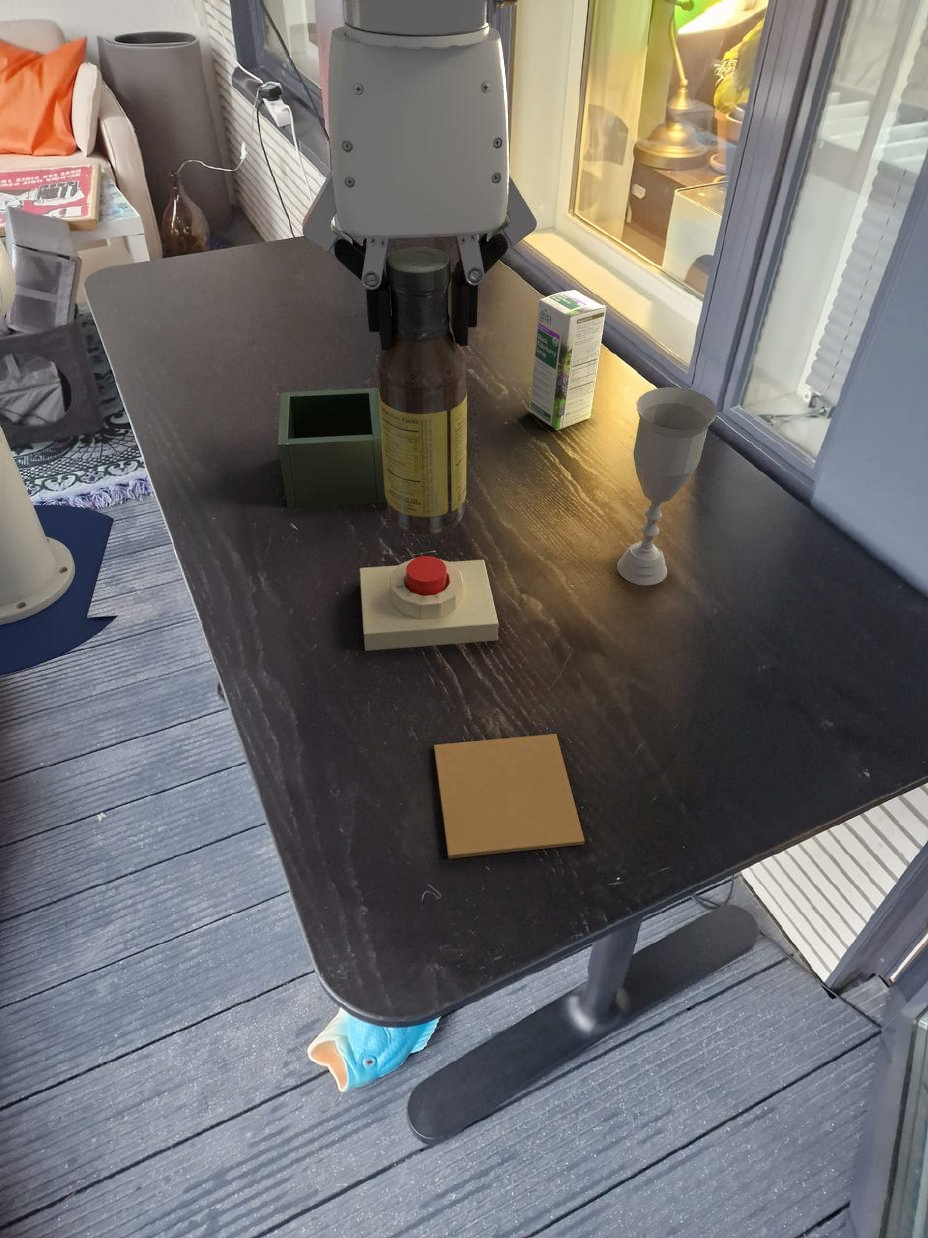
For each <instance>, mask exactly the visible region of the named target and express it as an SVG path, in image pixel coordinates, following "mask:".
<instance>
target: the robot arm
mask: <svg viewBox="0 0 928 1238" xmlns="http://www.w3.org/2000/svg"><path fill="white" fill-rule="evenodd" d="M517 4H518V0H343V11H344V14H343V15H344V26H339V27H336V28H334V29H332V30H331V35H330V44H329V53H328V70H327V71H328V72H327V73H328V74H327V113H328V115H327V116H328V142H329V143H328V144H329V145H328V146H329V163H330V165H329V166H330V167H329V168H330V171H329V173H328V175H327V176H326V178H325V180H324V182H323V183H322V186H321V187H320V189H319V191H318V193H317V195H315V198H314V200H313V202H312V203H311V205H310V207H309V208H308V210H307V212H306V214H305V216H304V218H303V220H302V222H301V227H302V229H301V230H302V235H303V237H304V238H305V239H306V240H307V241H309V242H311V243H312V244H314V245H315V246H317V247H319V248H320V249H322V250H323V251H324V252H326V253H330V254H331V255H332V256H334V257H335V258H336V259H337V261H339V262H340V263H341V264H342V265H343V266H344V267H345V268H346V269H347V270H349V271H350V272H351V273H352V275H354V276H355V277H357V278H358V279H359V281H361V283H362V285H363V287H364V288H365V299H366V311H367V312H366V314H367V315H366V316H367V327H368V333H378V337H379V343H380V350H381V349H382V350H390V348H392V322H391V316H392V311H391V296H390V287H389V284H388V282H387V277H386V270H385V264H386V257H387V250H388V245H389V239H391V240H392V239H418V238H420V239H421V238H446V237H447V238H448V237H454V241H455V242H454V243H455V247H456V252H457V257H458V261H457V262H456V263H455V267H453V271H451V280H450V328H451V332H452V335H453V336H454V338H455V341H456V344H459V346H460V347H468V345H469V329H470V328H477V327H478V301H479V285H480V284H482V282H483V281H484V279H485V274H487V273H488V272H489V271H490V269H491V268H493V267H494V265H496V263H497V262H499V260H500V259H501V258H502V257H503V256H504V255H505V254H506V253H507V251H508V250H509V249H510V248H511V247H512V246H515V245H516V244H518V243H519V242H521V241H522V240H523V239H525V238H526V237H527V236H529V235H530V234H531V233H533V232H534V231H535V230H536V229H537V226H538V221H537V218H536V217H535V215H534V213H533V212H532V210H531V208H530V207H529V205H528V203H527V201H526V200H525V198H524V197H523V195H522V193H521V192H520V190H519V188H518V186H517V185H516V183H515V182H514V180H513V178H512V176H511V175H510V173H509V168H510V166H509V165H510V163H509V161H510V160H509V123H508V122H509V121H508V97H507V82H506V73H505V72H506V71H505V64H504V63H505V61H504V52H503V46H502V45H503V44H502V39H501V38H502V37H501V34H500V32H499V30H497V29H495V28H494V27H490V25H492V24H493V15H496V13H497V12H496V11H497V9H503V7H504V6H516V5H517ZM335 216H336V217H337V222H338V225H339V227H340V229H341V230H340V229H339V228H338V227H337V226H335V225H334V224H333V222H332V221H333V219H334V217H335ZM480 235H481V237H480V238H478V236H480ZM354 237H355V238H359V239H362V240H361V244H360V243H359V242H358V241H356V239H355V238H354ZM16 295H17V281H16V274H15V269H14V267H13V264H12V261H11V258H10V256H9V253H8V251H7V249H6V246H5V245H4V242H3V240H2V238H1V237H0V320H1V319H3V318H4V317H5V316H6V314H8V312H9V311H10V310H11V308H12V306H13V304H14V302H15V299H16ZM25 484H26V483H25V482H24V479H23V477H22V474H21V472H20V469H19V466H18V465H17V462H16V459H15V457H14V454H13V452H12V449H11V447H10V445H9V442H8V439H7V438H6V435H5V433H4V430H3V428H2V426H1V425H0V625H2V624H8V623H12V622H15V621H18V620H22V619H25V618H27V617H29V616H32V615H34V614H36V613H38V612H40V611H42V610H43V609H45V608H47V607H48V606H50V605H51V604H52V603H54V602H55V601H56V600H58V599H59V598H60V597H61V596H62V595H63V594H64V593H65V592H66V590H67V589H68V587H69V586H70V584H71V583H72V580H73V578H74V575H75V564H74V560H73V558H72V555H71V553H70V551H69V550H68V549H67V548H66V546H65V545H63V544H62V543H60V542H59V541H57V540H55V539H52V538H50V537H46V536H45V533H44V531H43V529H42V526H41V524H40V521H39V519H38V516H37V514H36V511H35V509H34V506H33V505H34V504H33V501H32V499H31V497H30V496H31V495H30V494H29V492H28V489H27V487H26V485H25Z"/></svg>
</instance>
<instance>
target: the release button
mask: <svg viewBox="0 0 928 1238" xmlns="http://www.w3.org/2000/svg"><path fill="white" fill-rule="evenodd" d="M414 558H415V559H413V558H412V559H413V560H412V561H410V562H409V564H408V565H407V568H406V573H407V586H408V588H409V590H410V591H411V592H413V593H415V594H418V595H422V596H428V595H436V594H438V593H440V592H442V591H443V590H444V589H445V587H446V565H445V564H444V562H443V561H441V560H442V559H441V558H438V557H435V556H430V555H423V556H417V557H414ZM440 559H441V560H440Z"/></svg>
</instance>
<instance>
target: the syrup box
mask: <svg viewBox="0 0 928 1238" xmlns="http://www.w3.org/2000/svg"><path fill="white" fill-rule="evenodd" d="M606 311H607V305H605V304H600V303H598V302H596V301H595V300H593V299H592V298H589V297H588V296H586V295H584V294H582V293H580V292H579V291H577V290H575V289H573V290H567V291H561V292H556V293H554V294H551V295H548V296H545V297H543V298H540V299H539V301H538V311H537V322H536V323H537V324H536V332H535V346H534V355H533V356H534V357H533V367H532V378H531V387H530V399H529V407H528V411H529V413H530V414H532V415H534V416H536V418H538V419H539V420H541V421H542V422H544V423H545V424H547V425H548V426H549V427H551V428H553V429H554V430H555V431H559V430H563V429H565V428H568V427H570V426H573V425H575V424H578V423H580V422H582V421H586V420H588V419H591V415H592V408H593V407H592V406H593V401H594V394H595V387H596V380H597V374H598V367H599V360H600V353H601V346H602V339H603V332H604V325H605V318H606Z"/></svg>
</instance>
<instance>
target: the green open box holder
mask: <svg viewBox="0 0 928 1238" xmlns="http://www.w3.org/2000/svg"><path fill="white" fill-rule="evenodd" d="M374 355H375V370H376V372H375V373H376V376H377V375H378V369H377V368H378V367H377V365H378V357H379V353H376V354H374ZM277 448H278V455H279V462H280V467H281V468H280V469H281V475H282V482H283V488H284V494H285V501H286V507H287V509H299V508H300V509H301V508H316V507H317V508H318V507H331V506H332V507H333V506H349V505H351V506H353V505H367V504H384V503H388V501H387V499H386V497H385V487H384V473H383V458H382V443H381V429H380V416H379V402H378V388H377V387H369V388H368V387H367V388H349V389H348V388H346V389H345V388H344V389H325V390H324V389H323V390H303V391H301V390H299V391H281V392H280V395H279V415H278V434H277Z"/></svg>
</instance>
